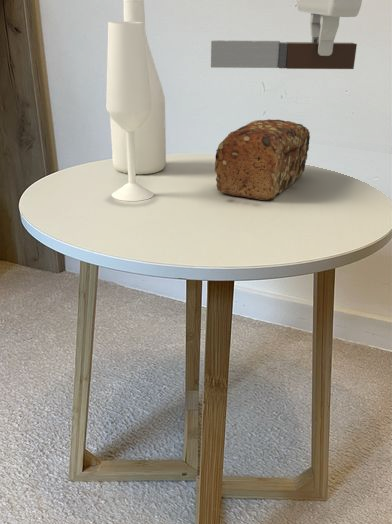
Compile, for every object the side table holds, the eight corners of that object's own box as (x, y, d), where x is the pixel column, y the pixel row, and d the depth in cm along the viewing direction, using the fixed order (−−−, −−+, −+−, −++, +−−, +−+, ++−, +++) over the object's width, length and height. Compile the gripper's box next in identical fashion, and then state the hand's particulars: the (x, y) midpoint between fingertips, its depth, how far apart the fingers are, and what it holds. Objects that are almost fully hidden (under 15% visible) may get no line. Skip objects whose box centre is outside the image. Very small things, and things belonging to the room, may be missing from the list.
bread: (273, 204, 92) (279, 136, 87) (210, 194, 96) (211, 128, 90) (308, 175, 106) (315, 115, 101) (252, 167, 110) (255, 109, 105)
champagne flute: (121, 186, 98) (112, 20, 86) (159, 190, 97) (156, 21, 84) (104, 198, 93) (92, 22, 80) (145, 202, 91) (139, 24, 79)
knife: (349, 67, 82) (352, 40, 80) (353, 69, 80) (357, 42, 78) (210, 66, 81) (210, 39, 79) (211, 68, 79) (211, 41, 77)
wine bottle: (165, 161, 113) (162, -26, 97) (166, 175, 105) (163, -27, 89) (114, 162, 112) (103, -27, 97) (111, 175, 104) (99, -29, 88)
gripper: (387, -81, 64) (367, 62, 71) (338, -67, 81) (326, 47, 88) (328, -82, 63) (314, 62, 71) (292, -67, 81) (283, 47, 88)
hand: (320, 54), depth 80 cm, fingers closed on knife, 2 cm apart
